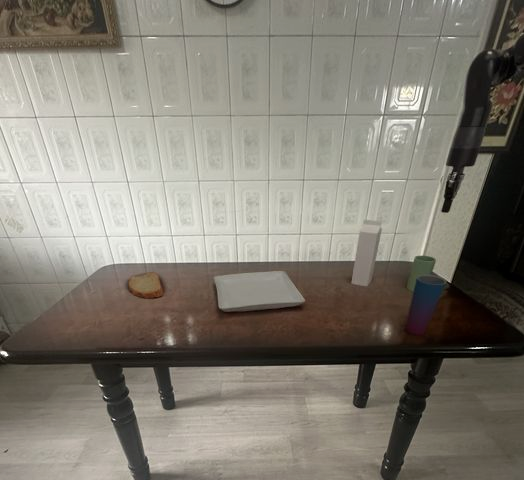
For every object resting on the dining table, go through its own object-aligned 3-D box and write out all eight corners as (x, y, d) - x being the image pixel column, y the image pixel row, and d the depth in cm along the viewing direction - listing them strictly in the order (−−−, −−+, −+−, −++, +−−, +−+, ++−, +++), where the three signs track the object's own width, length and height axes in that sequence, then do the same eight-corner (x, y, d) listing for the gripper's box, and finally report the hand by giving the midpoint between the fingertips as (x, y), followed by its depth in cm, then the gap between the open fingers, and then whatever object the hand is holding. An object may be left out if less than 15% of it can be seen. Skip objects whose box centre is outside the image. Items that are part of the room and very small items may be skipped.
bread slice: (157, 300, 103) (155, 289, 100) (112, 294, 107) (109, 285, 104) (182, 280, 117) (180, 271, 115) (142, 276, 121) (139, 267, 119)
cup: (397, 330, 85) (412, 279, 76) (408, 321, 88) (423, 272, 80) (422, 339, 81) (440, 286, 72) (432, 329, 85) (450, 279, 76)
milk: (355, 278, 117) (366, 218, 104) (371, 281, 114) (384, 219, 101) (350, 284, 112) (361, 221, 100) (367, 287, 110) (379, 223, 97)
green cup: (426, 287, 109) (436, 256, 103) (425, 294, 104) (436, 262, 98) (406, 284, 111) (415, 254, 105) (405, 290, 107) (414, 260, 100)
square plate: (220, 319, 91) (219, 307, 89) (214, 284, 113) (213, 274, 111) (305, 310, 95) (306, 299, 93) (283, 278, 117) (284, 269, 115)
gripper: (477, 147, 80) (454, 216, 90) (483, 146, 89) (461, 210, 98) (446, 147, 84) (427, 214, 93) (454, 146, 92) (436, 208, 102)
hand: (445, 212), depth 96 cm, fingers closed
